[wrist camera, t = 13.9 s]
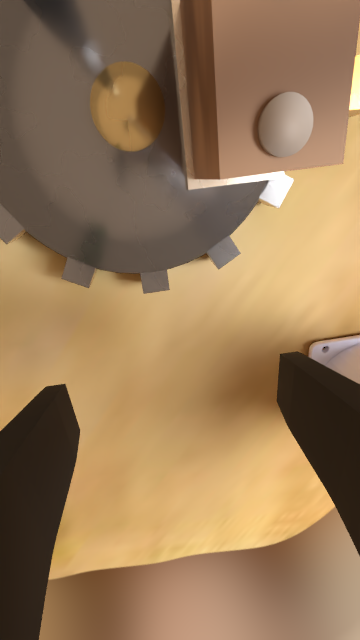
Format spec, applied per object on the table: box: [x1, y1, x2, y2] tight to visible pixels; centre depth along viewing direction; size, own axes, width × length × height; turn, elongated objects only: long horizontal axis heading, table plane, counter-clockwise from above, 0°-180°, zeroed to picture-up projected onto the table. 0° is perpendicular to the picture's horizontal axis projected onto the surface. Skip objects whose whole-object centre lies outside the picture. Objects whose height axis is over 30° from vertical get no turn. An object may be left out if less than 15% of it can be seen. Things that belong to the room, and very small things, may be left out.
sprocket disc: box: [0, 0, 294, 294], centre depth 12 cm, size 16×16×5 cm
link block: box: [180, 0, 360, 180], centre depth 10 cm, size 6×4×5 cm, turn 6°
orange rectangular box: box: [349, 56, 360, 117], centre depth 14 cm, size 2×2×3 cm
